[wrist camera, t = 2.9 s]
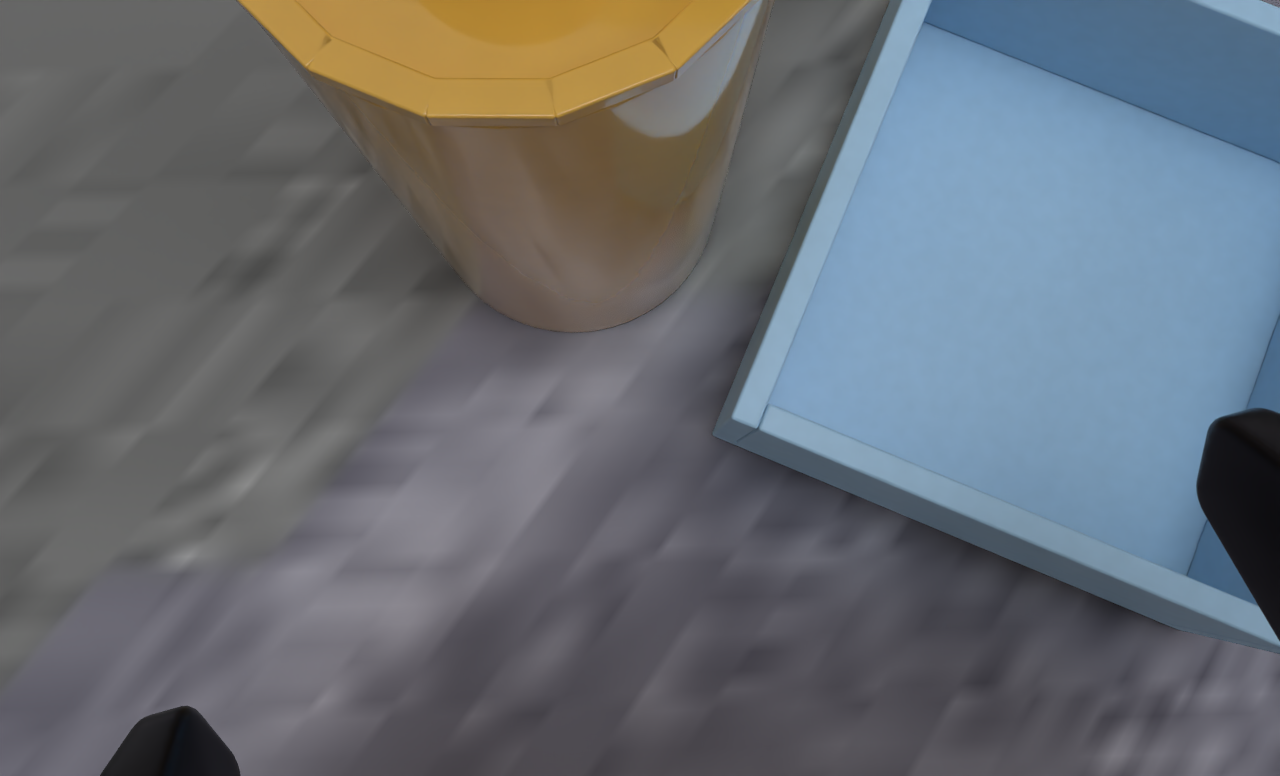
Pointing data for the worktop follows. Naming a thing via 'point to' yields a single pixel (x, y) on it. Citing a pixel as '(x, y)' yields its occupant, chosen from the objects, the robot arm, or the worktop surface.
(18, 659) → the worktop surface
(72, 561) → the worktop surface
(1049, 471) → the bin
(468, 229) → the tall tapered cup
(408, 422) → the worktop surface
